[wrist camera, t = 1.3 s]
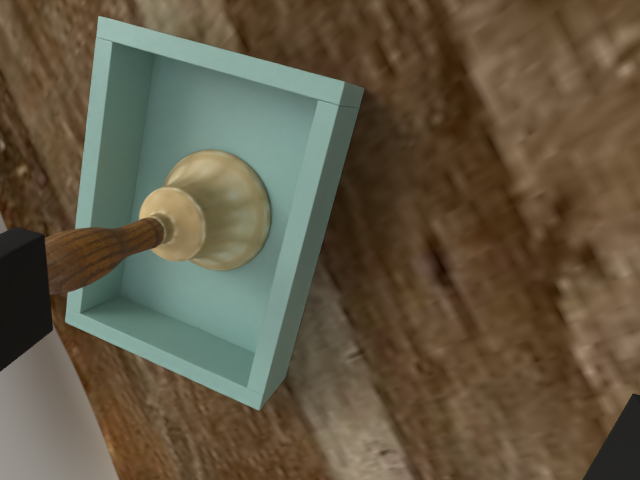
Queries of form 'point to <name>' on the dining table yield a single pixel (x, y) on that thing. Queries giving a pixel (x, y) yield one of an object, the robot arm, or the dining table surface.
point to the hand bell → (174, 224)
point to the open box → (150, 174)
